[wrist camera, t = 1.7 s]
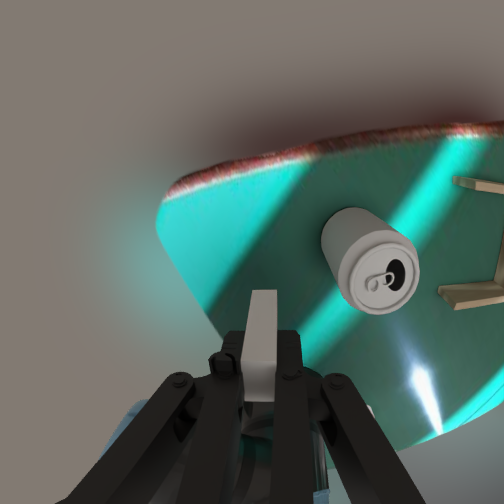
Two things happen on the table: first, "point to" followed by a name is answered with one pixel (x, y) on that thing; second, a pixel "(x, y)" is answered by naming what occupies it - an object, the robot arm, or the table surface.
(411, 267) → the can
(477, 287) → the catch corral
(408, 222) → the table surface
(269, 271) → the table surface
